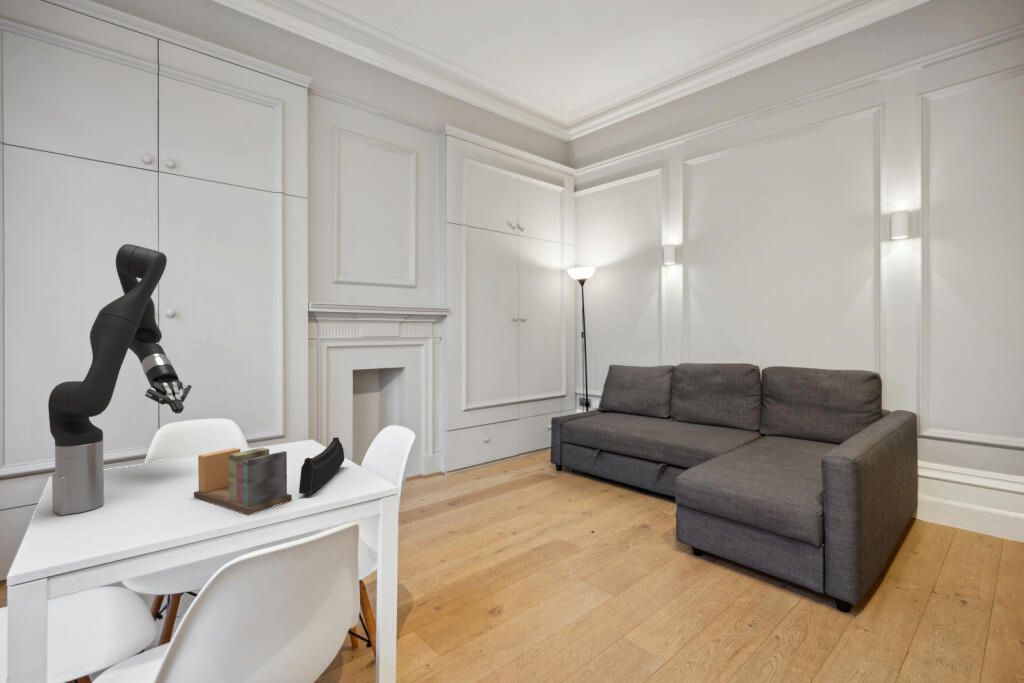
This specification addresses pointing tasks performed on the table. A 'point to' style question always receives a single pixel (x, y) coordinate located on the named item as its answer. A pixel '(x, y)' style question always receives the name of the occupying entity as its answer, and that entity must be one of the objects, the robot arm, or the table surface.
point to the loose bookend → (214, 470)
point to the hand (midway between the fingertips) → (179, 411)
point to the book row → (252, 482)
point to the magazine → (321, 467)
